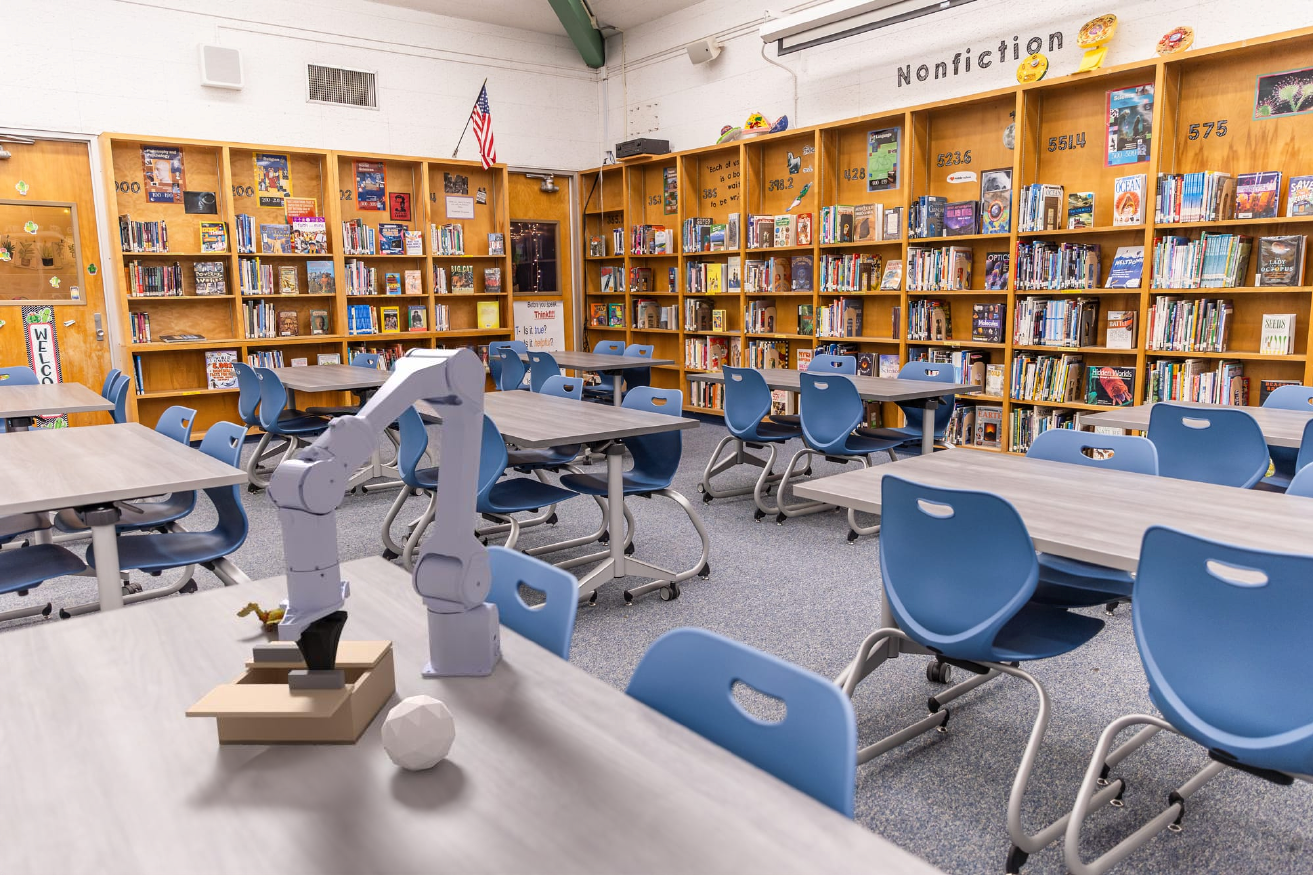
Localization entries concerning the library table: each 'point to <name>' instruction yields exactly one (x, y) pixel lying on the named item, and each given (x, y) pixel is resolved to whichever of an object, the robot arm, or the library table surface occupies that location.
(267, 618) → the yellow dragon figurine
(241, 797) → the library table surface
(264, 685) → the left flap
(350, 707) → the carton
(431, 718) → the geometric ball
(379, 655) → the right flap
